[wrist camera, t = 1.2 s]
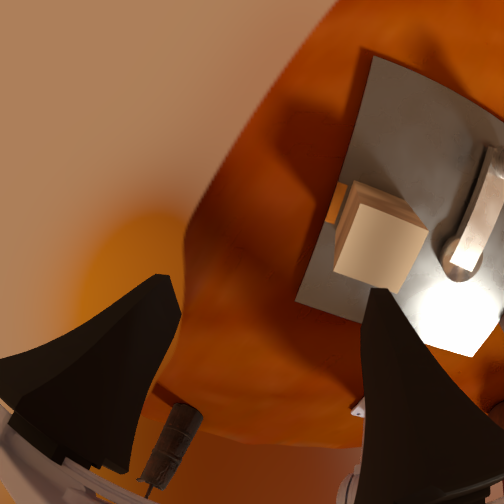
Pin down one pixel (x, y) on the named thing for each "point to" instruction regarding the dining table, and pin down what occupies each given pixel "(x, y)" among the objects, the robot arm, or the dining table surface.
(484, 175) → the crank
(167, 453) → the butter churn
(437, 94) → the base plate
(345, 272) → the block
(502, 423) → the wooden figurine
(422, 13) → the dining table surface
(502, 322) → the tray
